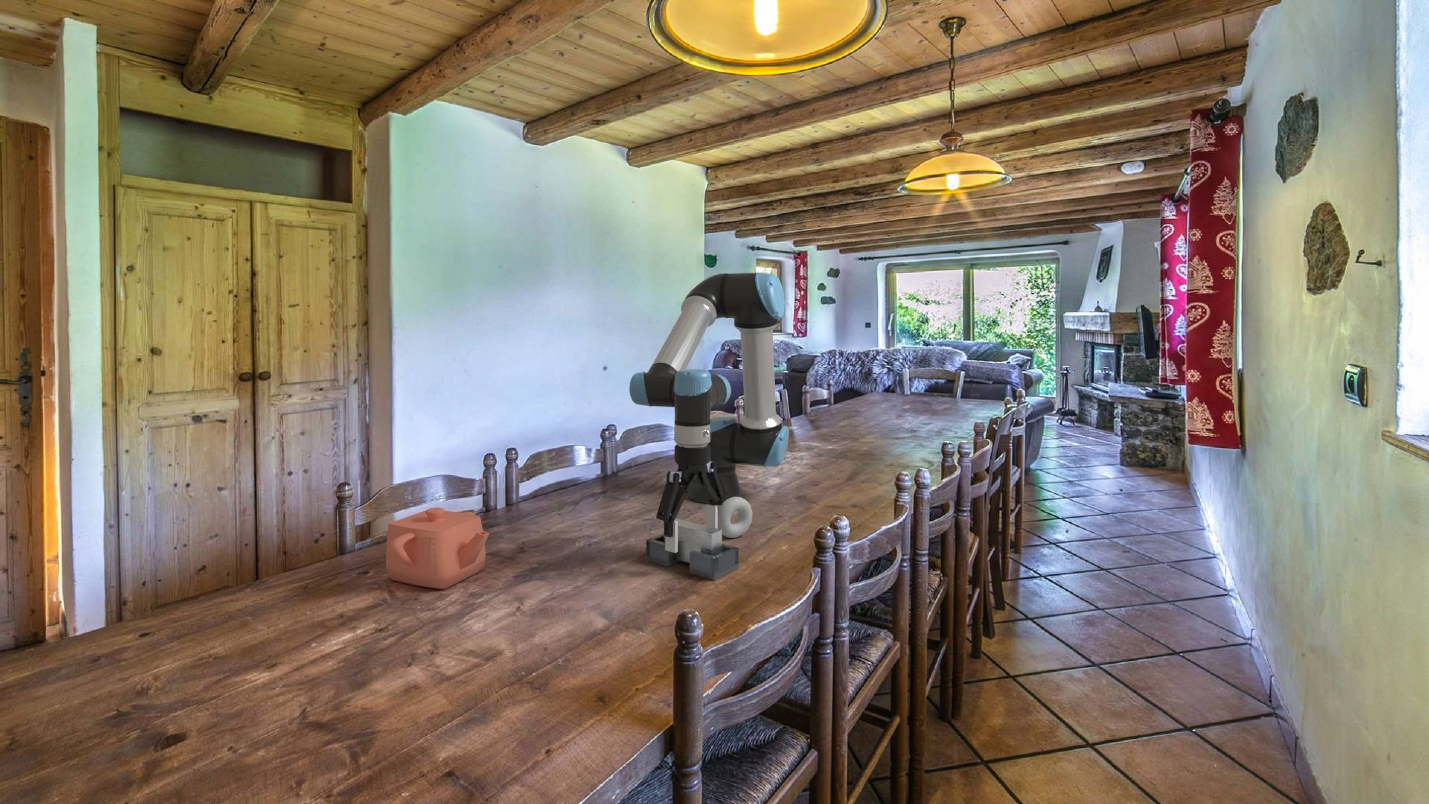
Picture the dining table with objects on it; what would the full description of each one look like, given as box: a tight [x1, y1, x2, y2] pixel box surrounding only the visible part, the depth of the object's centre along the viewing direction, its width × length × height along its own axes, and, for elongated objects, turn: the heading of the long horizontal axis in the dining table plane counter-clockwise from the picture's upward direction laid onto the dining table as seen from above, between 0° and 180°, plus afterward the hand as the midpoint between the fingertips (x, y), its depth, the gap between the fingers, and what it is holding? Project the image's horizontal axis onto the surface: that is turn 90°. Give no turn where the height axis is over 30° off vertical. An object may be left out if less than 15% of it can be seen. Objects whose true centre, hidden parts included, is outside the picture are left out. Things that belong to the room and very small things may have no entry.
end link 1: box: [645, 533, 683, 568], centre depth 148 cm, size 8×6×4 cm
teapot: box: [385, 507, 490, 590], centre depth 135 cm, size 20×22×14 cm
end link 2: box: [689, 543, 740, 582], centre depth 141 cm, size 8×6×4 cm
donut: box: [717, 496, 753, 539], centre depth 162 cm, size 10×4×10 cm, turn 125°
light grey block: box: [664, 517, 723, 564], centre depth 144 cm, size 4×13×8 cm, turn 53°
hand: (692, 542), depth 144 cm, fingers open, 13 cm apart
